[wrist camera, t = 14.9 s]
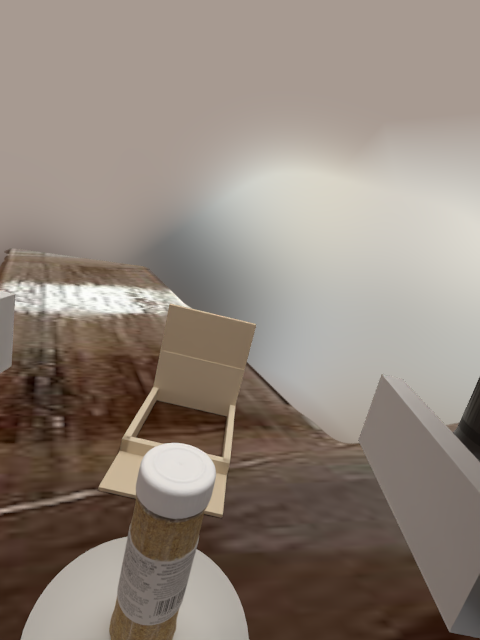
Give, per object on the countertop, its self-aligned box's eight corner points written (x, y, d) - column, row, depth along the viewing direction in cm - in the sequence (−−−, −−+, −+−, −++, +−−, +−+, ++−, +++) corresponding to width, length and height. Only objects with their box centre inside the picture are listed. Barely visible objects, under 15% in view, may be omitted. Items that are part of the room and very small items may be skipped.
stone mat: (277, 610, 29) (279, 605, 29) (156, 900, 16) (158, 892, 16) (134, 512, 35) (135, 507, 35) (-43, 665, 22) (-43, 657, 21)
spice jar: (164, 586, 28) (200, 436, 25) (184, 650, 25) (230, 483, 21) (101, 606, 26) (132, 443, 22) (114, 680, 22) (153, 498, 19)
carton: (221, 517, 37) (258, 383, 33) (98, 490, 37) (120, 351, 33) (232, 414, 57) (256, 323, 53) (152, 396, 56) (170, 303, 53)
